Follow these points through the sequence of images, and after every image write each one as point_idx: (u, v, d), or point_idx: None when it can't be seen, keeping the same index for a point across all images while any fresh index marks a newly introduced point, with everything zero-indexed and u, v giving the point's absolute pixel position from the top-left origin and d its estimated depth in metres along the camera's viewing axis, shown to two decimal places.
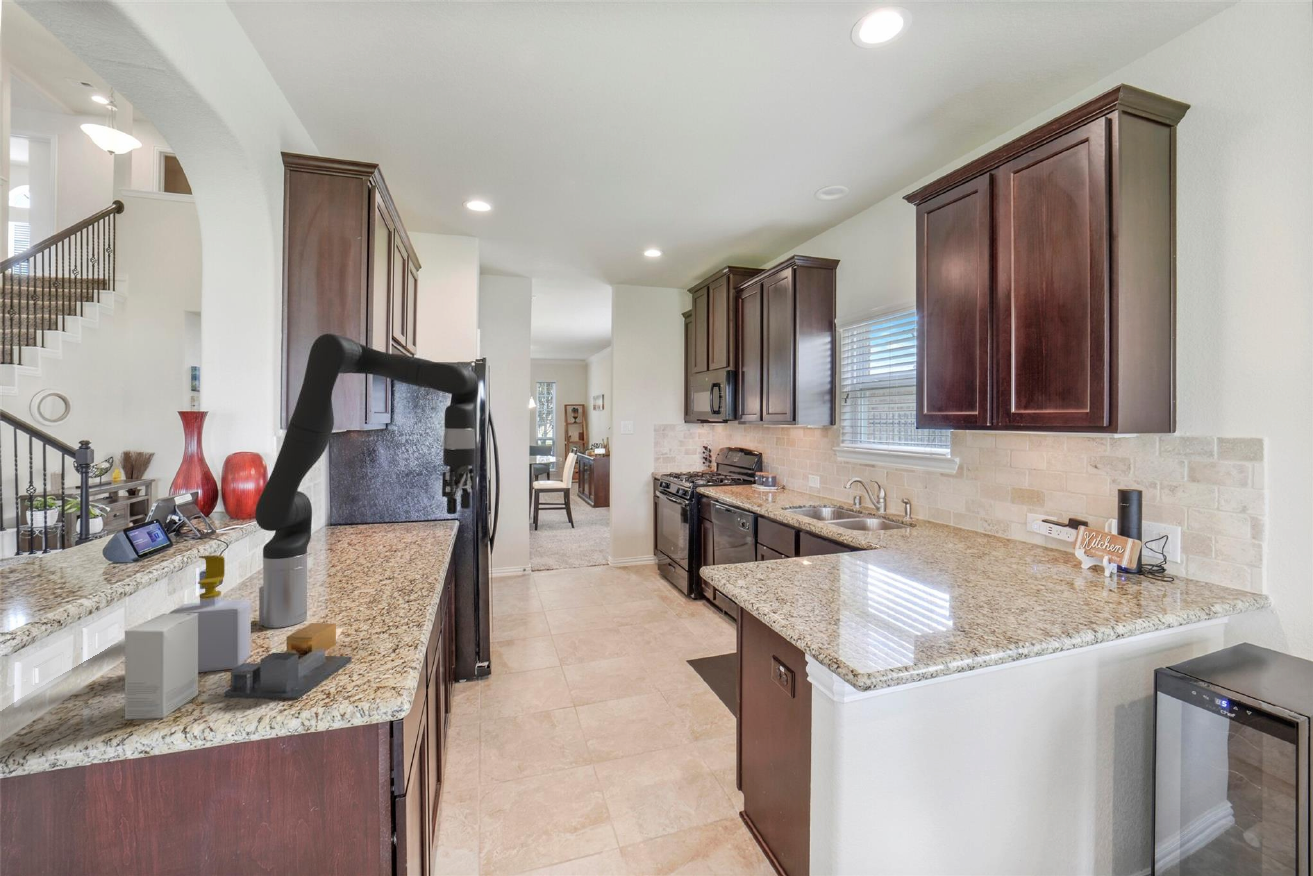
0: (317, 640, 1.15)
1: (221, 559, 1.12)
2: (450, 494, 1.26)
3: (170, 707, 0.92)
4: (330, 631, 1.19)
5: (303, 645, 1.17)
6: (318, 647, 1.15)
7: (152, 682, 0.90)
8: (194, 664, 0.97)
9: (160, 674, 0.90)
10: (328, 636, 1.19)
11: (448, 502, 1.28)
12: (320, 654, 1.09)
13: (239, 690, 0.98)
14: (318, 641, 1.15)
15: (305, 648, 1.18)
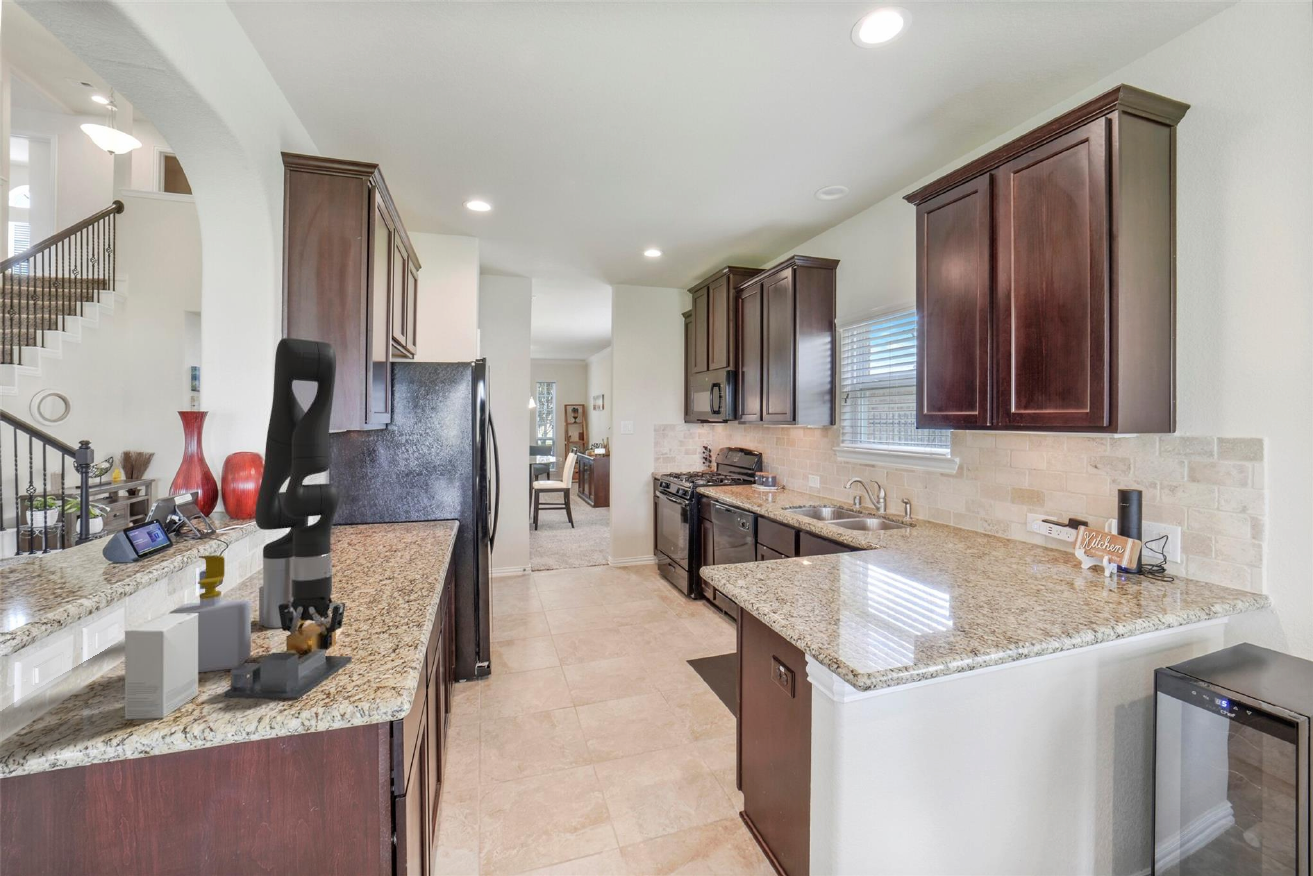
0: (317, 640, 1.15)
1: (221, 559, 1.12)
2: (340, 626, 1.18)
3: (170, 707, 0.92)
4: None
5: (303, 645, 1.17)
6: (318, 647, 1.15)
7: (152, 682, 0.90)
8: (194, 664, 0.97)
9: (160, 674, 0.90)
10: None
11: (328, 637, 1.17)
12: (320, 654, 1.09)
13: (239, 690, 0.98)
14: (318, 641, 1.15)
15: (305, 648, 1.18)
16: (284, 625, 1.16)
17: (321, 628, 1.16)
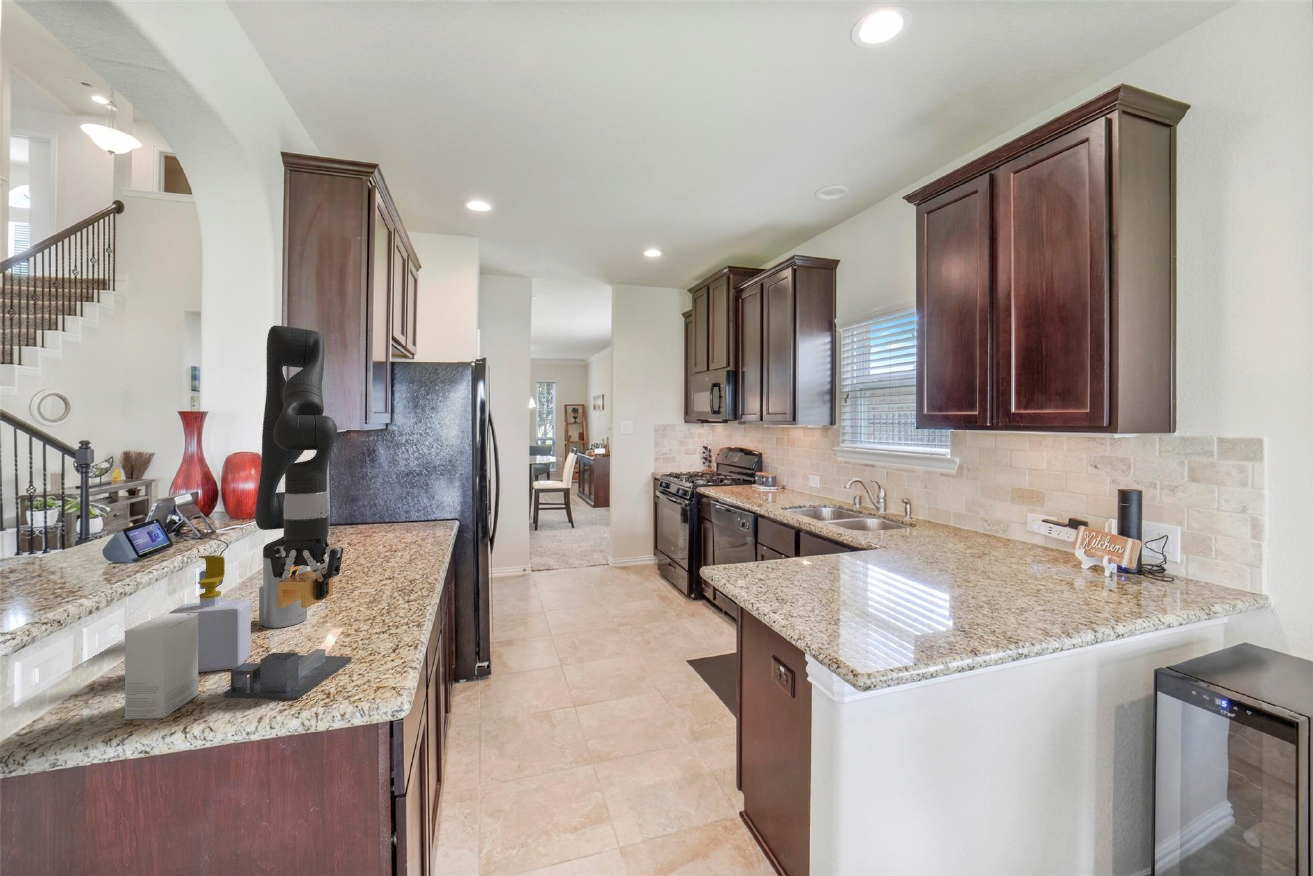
0: (312, 586, 1.04)
1: (221, 559, 1.12)
2: (338, 572, 1.06)
3: (170, 707, 0.92)
4: None
5: (296, 593, 1.06)
6: (313, 594, 1.04)
7: (152, 682, 0.90)
8: (194, 664, 0.97)
9: (160, 674, 0.90)
10: None
11: (325, 585, 1.05)
12: (320, 654, 1.09)
13: (239, 690, 0.98)
14: (314, 588, 1.04)
15: (299, 597, 1.06)
16: (275, 571, 1.05)
17: (317, 574, 1.05)
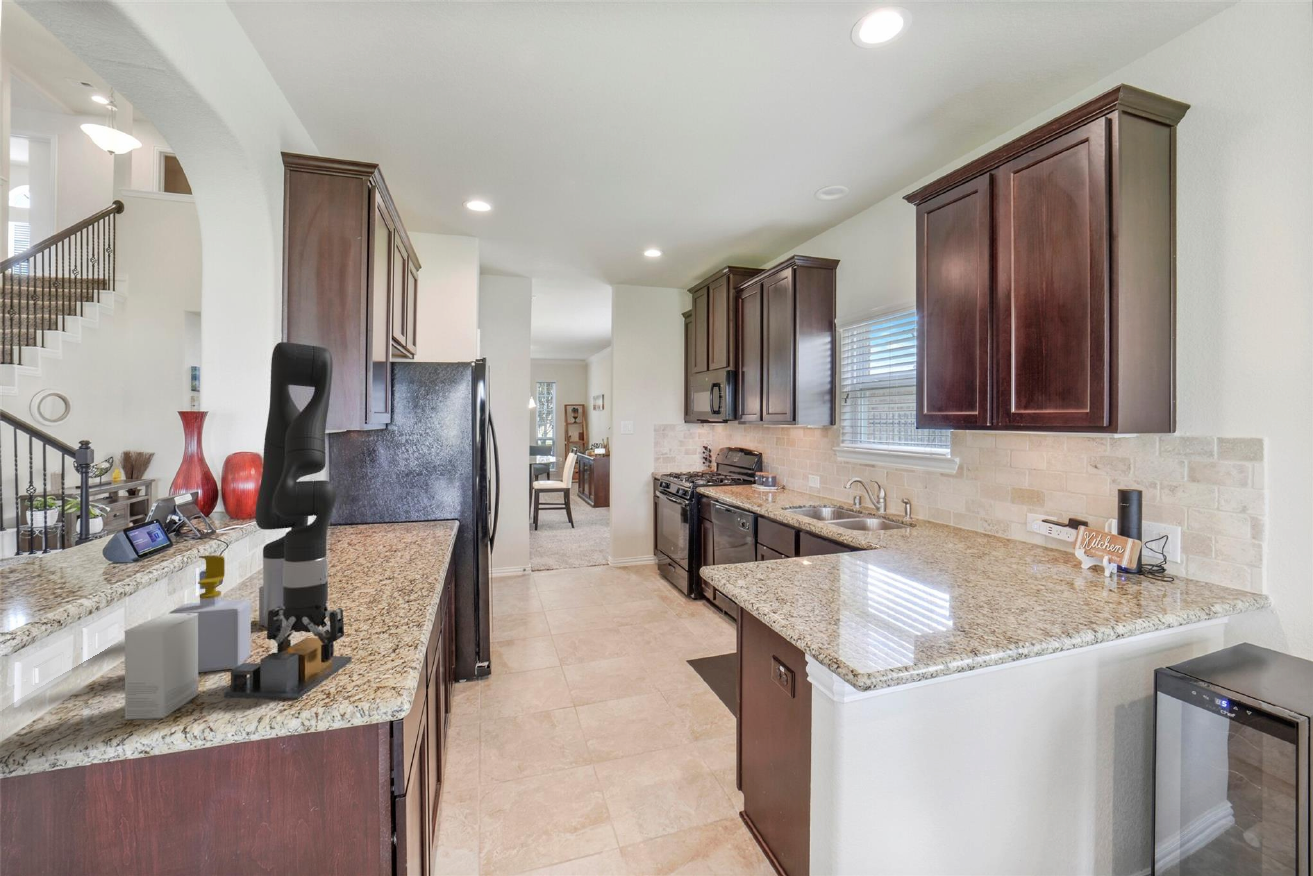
0: (311, 658, 1.04)
1: (221, 559, 1.12)
2: (342, 634, 1.07)
3: (170, 707, 0.92)
4: None
5: None
6: (312, 665, 1.04)
7: (152, 682, 0.90)
8: (194, 664, 0.97)
9: (160, 674, 0.90)
10: None
11: (330, 647, 1.05)
12: None
13: (239, 690, 0.98)
14: (313, 659, 1.04)
15: None
16: (269, 633, 1.05)
17: (320, 638, 1.05)
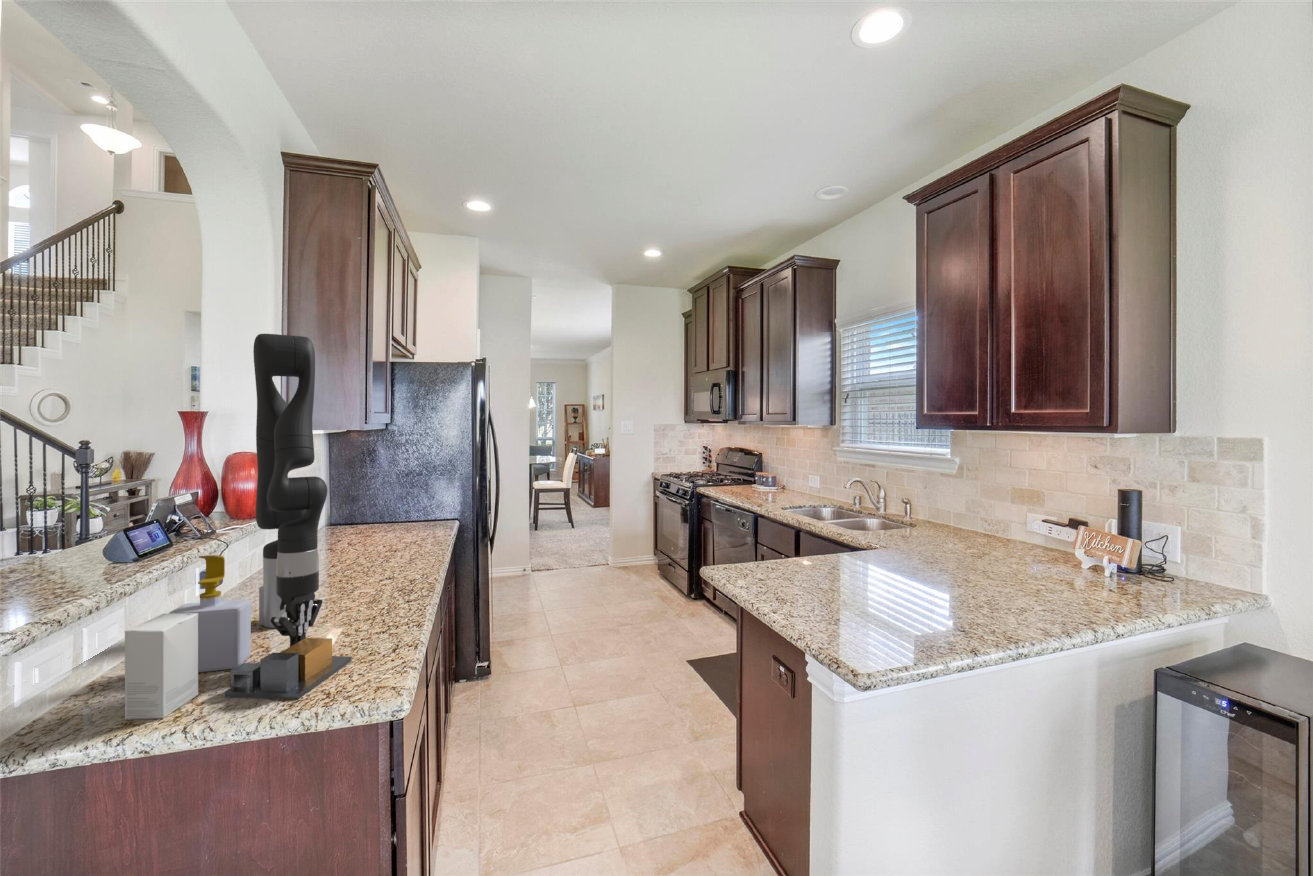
0: (311, 658, 1.04)
1: (221, 559, 1.12)
2: None
3: (170, 707, 0.92)
4: (326, 647, 1.08)
5: None
6: (312, 665, 1.04)
7: (152, 682, 0.90)
8: (194, 664, 0.97)
9: (160, 674, 0.90)
10: (323, 653, 1.07)
11: None
12: None
13: (239, 690, 0.98)
14: (313, 659, 1.04)
15: None
16: (294, 630, 1.10)
17: (305, 625, 1.13)
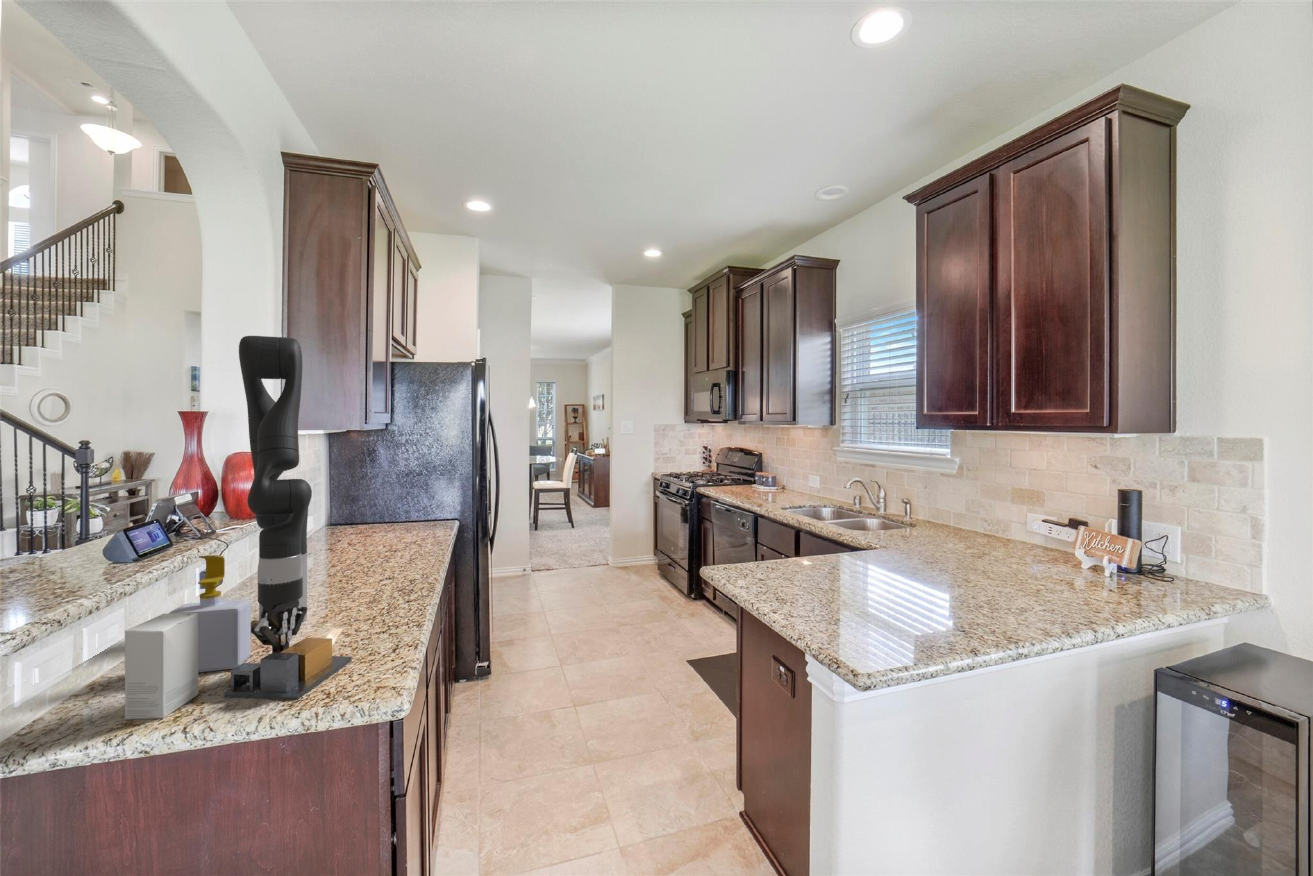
0: (311, 658, 1.04)
1: (221, 559, 1.12)
2: None
3: (170, 707, 0.92)
4: (326, 647, 1.08)
5: None
6: (312, 665, 1.04)
7: (152, 682, 0.90)
8: (194, 664, 0.97)
9: (160, 674, 0.90)
10: (323, 653, 1.07)
11: None
12: None
13: (239, 690, 0.98)
14: (313, 659, 1.04)
15: None
16: (276, 639, 1.05)
17: (289, 634, 1.08)
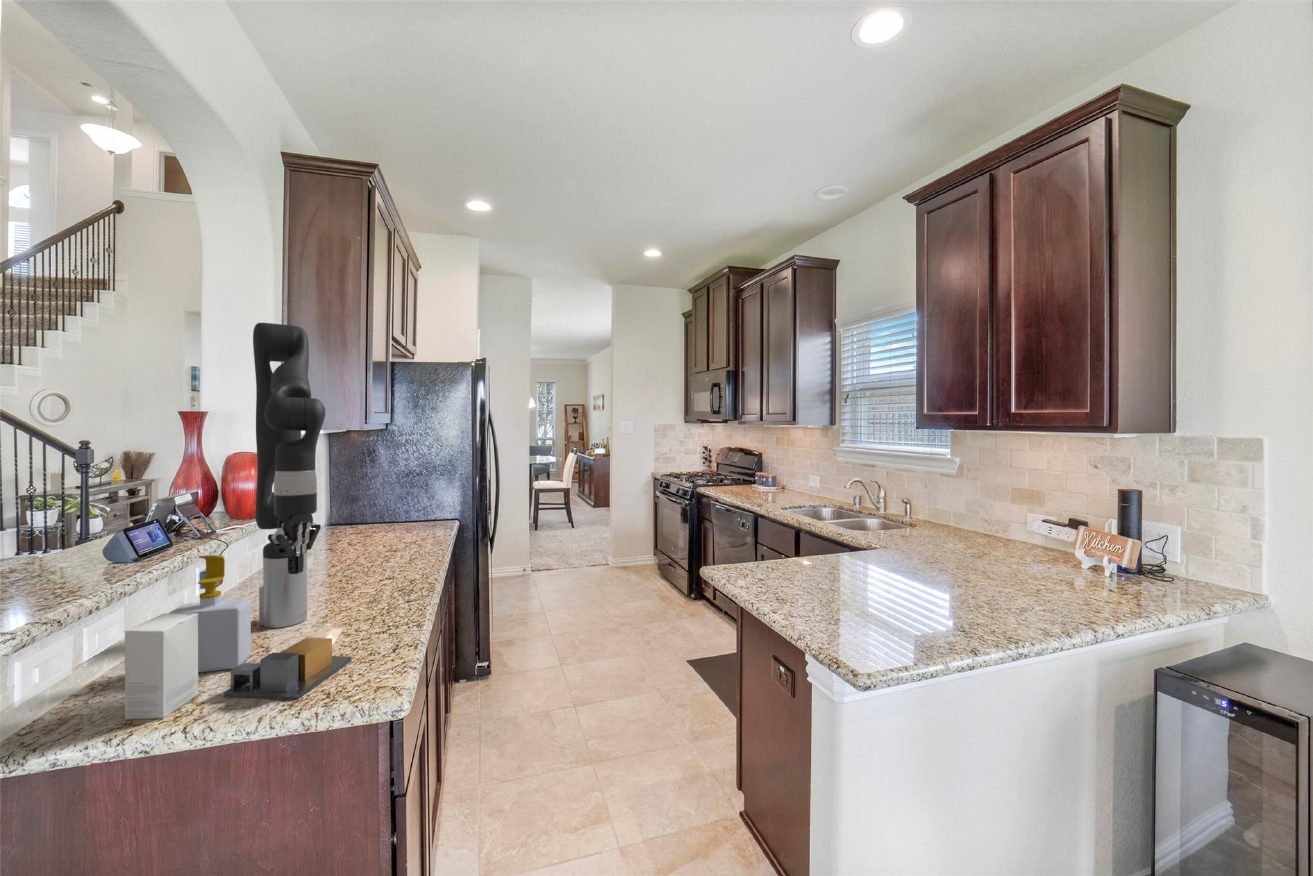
0: (311, 658, 1.04)
1: (221, 559, 1.12)
2: None
3: (170, 707, 0.92)
4: (326, 647, 1.08)
5: None
6: (312, 665, 1.04)
7: (152, 682, 0.90)
8: (194, 664, 0.97)
9: (160, 674, 0.90)
10: (323, 653, 1.07)
11: None
12: None
13: (239, 690, 0.98)
14: (313, 659, 1.04)
15: None
16: (291, 549, 1.09)
17: (303, 547, 1.13)
